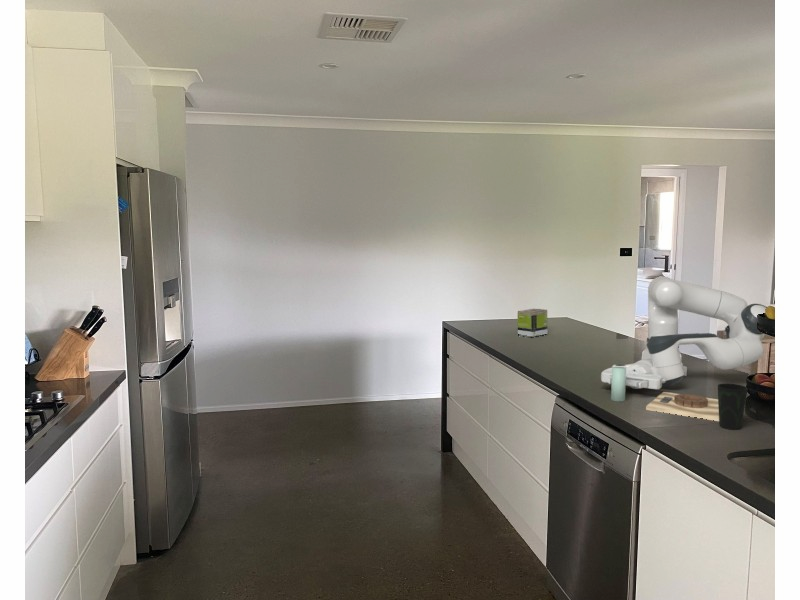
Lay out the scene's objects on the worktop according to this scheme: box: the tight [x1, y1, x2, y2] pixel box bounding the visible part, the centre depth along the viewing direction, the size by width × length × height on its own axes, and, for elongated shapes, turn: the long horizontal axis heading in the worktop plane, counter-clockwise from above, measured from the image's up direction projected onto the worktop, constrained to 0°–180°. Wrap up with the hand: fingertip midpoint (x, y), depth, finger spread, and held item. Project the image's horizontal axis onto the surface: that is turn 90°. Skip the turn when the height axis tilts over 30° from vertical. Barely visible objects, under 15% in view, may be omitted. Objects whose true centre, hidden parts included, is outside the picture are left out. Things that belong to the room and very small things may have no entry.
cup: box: [717, 382, 749, 431], centre depth 173 cm, size 8×8×12 cm
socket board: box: [645, 391, 719, 422], centre depth 193 cm, size 22×22×3 cm
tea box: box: [517, 308, 549, 336], centre depth 335 cm, size 15×10×15 cm, turn 130°
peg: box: [610, 366, 626, 402], centre depth 203 cm, size 4×4×11 cm
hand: (624, 383), depth 204 cm, fingers open, 8 cm apart
